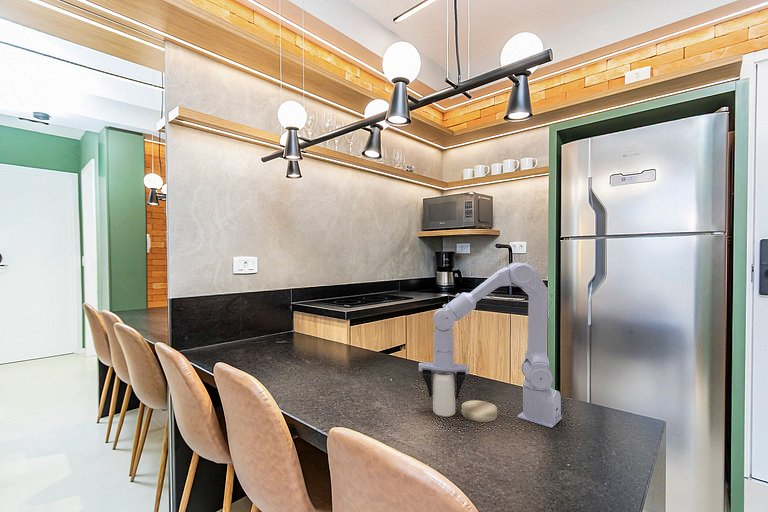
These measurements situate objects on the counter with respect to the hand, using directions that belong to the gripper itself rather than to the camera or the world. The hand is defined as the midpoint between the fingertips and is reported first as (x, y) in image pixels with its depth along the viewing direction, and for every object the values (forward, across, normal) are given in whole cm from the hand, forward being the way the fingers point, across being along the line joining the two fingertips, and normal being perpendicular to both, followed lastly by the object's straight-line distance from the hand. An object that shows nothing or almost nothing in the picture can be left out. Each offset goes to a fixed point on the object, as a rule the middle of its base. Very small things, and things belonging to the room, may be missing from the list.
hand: (443, 396), depth 107 cm
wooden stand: (+5, -10, -1) cm, 11 cm away
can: (+5, 0, 0) cm, 5 cm away
